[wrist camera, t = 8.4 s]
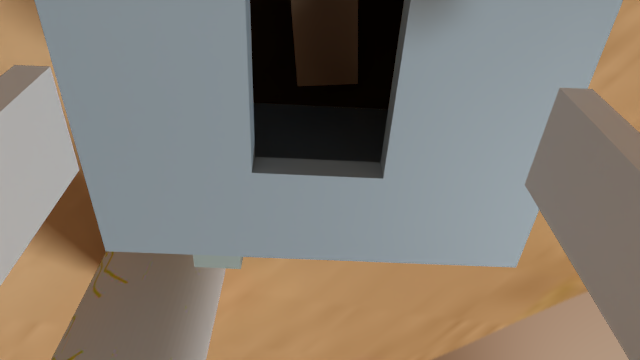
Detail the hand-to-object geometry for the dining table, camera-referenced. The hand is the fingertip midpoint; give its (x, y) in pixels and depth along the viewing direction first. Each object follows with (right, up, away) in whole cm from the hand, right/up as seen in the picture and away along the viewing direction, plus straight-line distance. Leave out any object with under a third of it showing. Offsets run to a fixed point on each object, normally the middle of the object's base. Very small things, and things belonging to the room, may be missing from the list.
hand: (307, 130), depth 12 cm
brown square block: (0, +9, +12) cm, 15 cm away
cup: (-11, -7, +23) cm, 27 cm away
